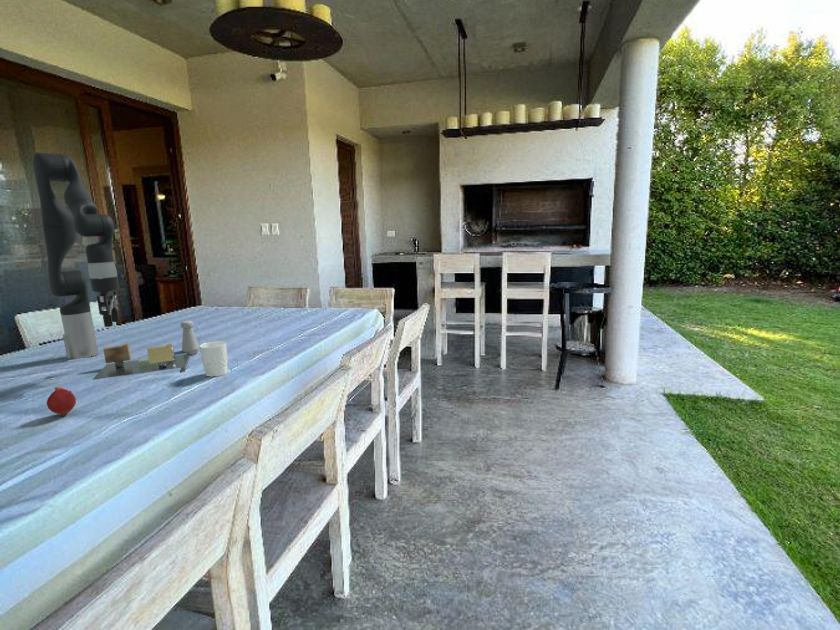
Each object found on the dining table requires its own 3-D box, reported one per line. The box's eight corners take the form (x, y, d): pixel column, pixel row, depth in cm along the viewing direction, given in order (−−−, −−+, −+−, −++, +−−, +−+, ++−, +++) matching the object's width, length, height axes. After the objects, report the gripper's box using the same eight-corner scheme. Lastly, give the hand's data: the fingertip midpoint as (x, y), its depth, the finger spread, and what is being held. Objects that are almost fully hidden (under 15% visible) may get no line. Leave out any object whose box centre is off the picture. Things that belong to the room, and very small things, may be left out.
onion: (60, 411, 118) (54, 383, 117) (83, 409, 119) (77, 381, 117) (44, 420, 113) (38, 391, 111) (68, 419, 113) (62, 389, 112)
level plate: (93, 384, 139) (89, 367, 138) (107, 368, 156) (105, 353, 155) (185, 371, 149) (182, 355, 148) (190, 357, 165) (187, 343, 164)
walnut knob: (106, 368, 149) (102, 347, 148) (108, 366, 152) (104, 346, 150) (130, 365, 152) (127, 345, 151) (132, 363, 154) (128, 343, 153)
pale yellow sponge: (150, 368, 147) (146, 347, 146) (151, 366, 150) (147, 346, 148) (173, 365, 150) (170, 345, 149) (174, 363, 152) (171, 343, 151)
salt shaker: (192, 356, 167) (187, 323, 164) (179, 356, 168) (174, 322, 165) (202, 352, 172) (198, 319, 170) (189, 351, 173) (185, 319, 171)
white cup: (234, 370, 148) (231, 341, 146) (217, 378, 141) (213, 348, 139) (216, 369, 150) (212, 340, 148) (198, 376, 143) (193, 346, 141)
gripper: (96, 275, 151) (104, 321, 154) (83, 279, 138) (92, 329, 141) (121, 273, 154) (129, 319, 157) (111, 277, 141) (120, 326, 144)
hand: (112, 324), depth 149 cm, fingers open, 8 cm apart
